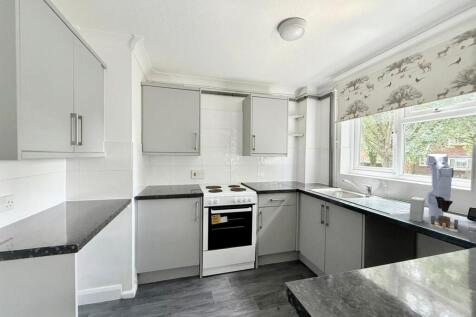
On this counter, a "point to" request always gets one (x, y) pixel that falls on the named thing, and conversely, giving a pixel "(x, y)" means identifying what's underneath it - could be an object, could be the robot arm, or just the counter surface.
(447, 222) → the brown small block
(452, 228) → the board
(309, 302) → the counter surface
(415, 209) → the skincare box
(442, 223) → the peg
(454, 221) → the wire gate
